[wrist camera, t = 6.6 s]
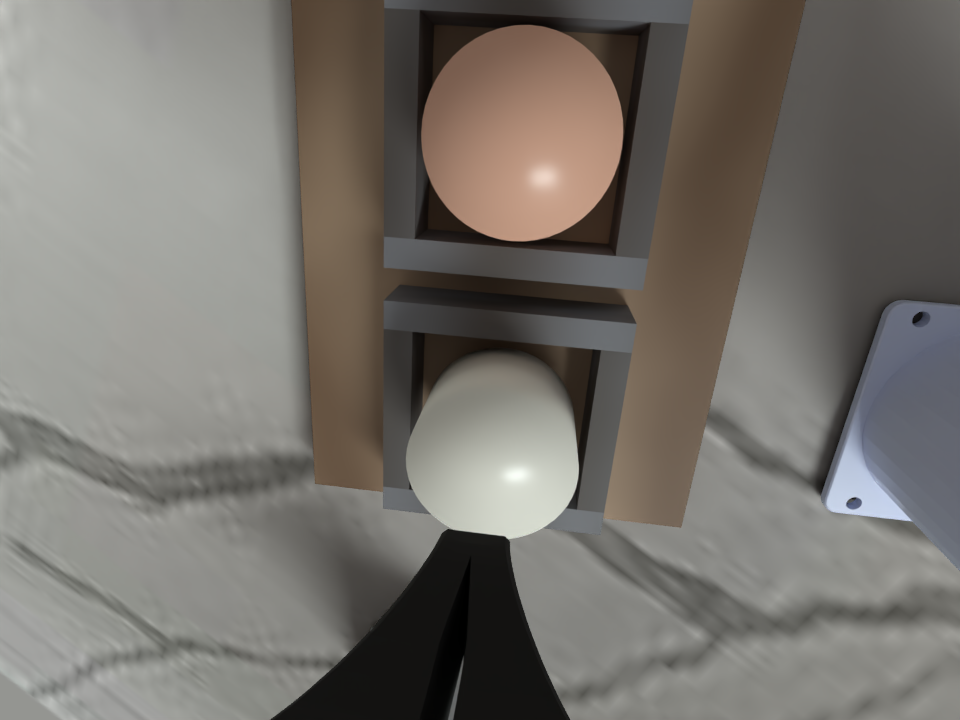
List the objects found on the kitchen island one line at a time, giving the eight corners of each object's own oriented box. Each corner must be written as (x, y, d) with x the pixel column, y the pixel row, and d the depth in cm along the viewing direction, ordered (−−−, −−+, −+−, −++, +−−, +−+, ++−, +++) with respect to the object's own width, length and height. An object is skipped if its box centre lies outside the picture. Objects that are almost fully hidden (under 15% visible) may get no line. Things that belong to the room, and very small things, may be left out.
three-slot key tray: (895, -463, 13) (1000, -644, 10) (674, 508, 22) (693, 564, 19) (288, -456, 14) (218, -617, 11) (326, 467, 23) (294, 514, 20)
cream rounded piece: (582, 355, 18) (590, 399, 15) (564, 486, 19) (567, 549, 17) (430, 340, 18) (407, 380, 15) (425, 470, 20) (404, 528, 17)
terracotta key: (621, 51, 16) (638, 30, 13) (597, 230, 17) (607, 249, 14) (447, 40, 16) (424, 19, 13) (440, 217, 18) (418, 233, 15)
